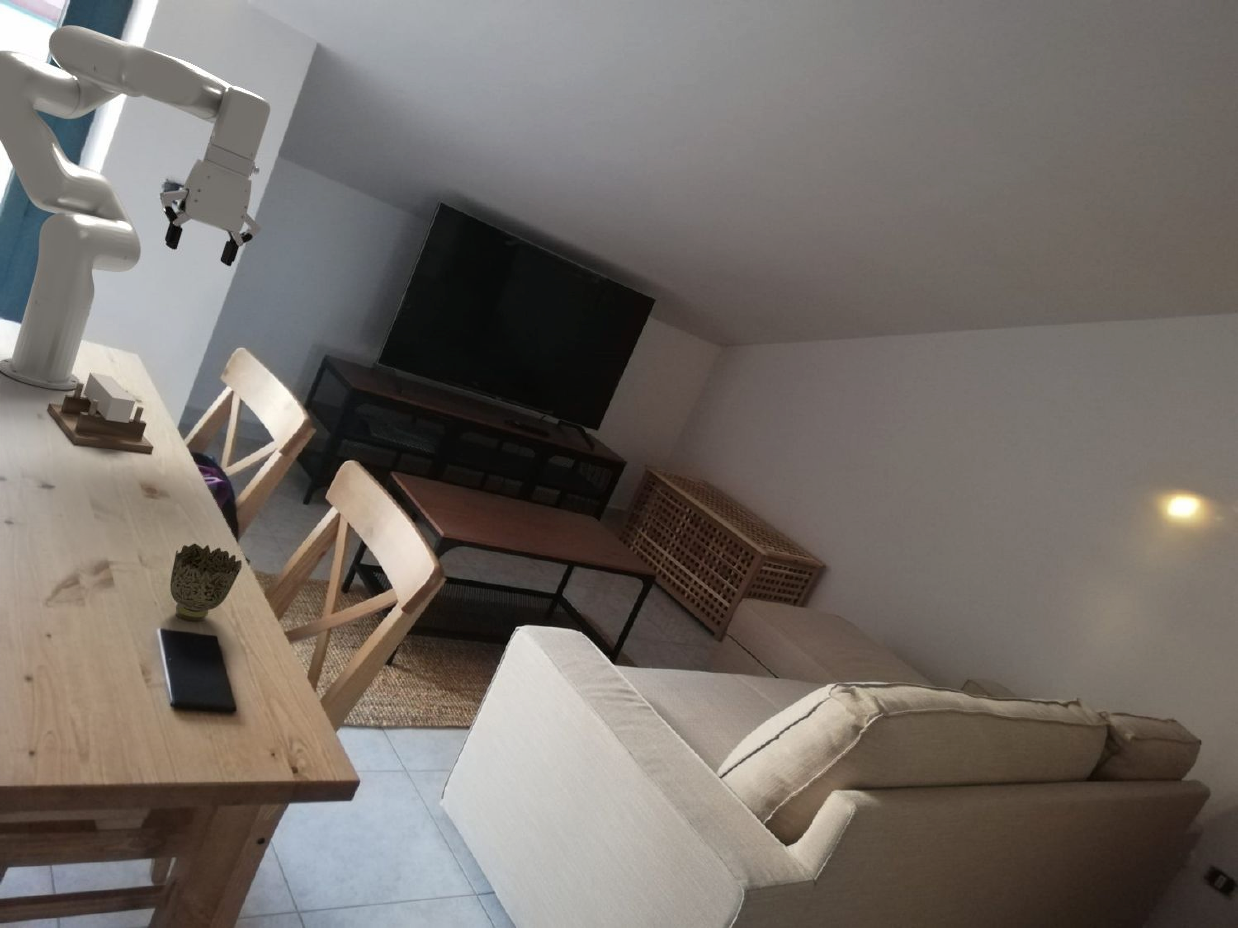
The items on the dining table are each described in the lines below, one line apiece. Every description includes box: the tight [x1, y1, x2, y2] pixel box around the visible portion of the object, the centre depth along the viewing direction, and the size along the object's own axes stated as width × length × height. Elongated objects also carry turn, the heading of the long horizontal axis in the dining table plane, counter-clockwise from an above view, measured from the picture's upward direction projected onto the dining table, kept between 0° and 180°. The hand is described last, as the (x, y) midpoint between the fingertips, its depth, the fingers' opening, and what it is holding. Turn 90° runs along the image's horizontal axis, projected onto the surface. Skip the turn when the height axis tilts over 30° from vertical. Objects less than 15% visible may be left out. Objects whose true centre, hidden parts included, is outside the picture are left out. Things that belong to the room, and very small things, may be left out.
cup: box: [169, 543, 243, 622], centre depth 104 cm, size 8×7×8 cm
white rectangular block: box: [83, 372, 136, 423], centre depth 147 cm, size 12×4×4 cm, turn 49°
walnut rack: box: [47, 381, 154, 454], centre depth 147 cm, size 15×12×7 cm
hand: (198, 256), depth 152 cm, fingers open, 9 cm apart
